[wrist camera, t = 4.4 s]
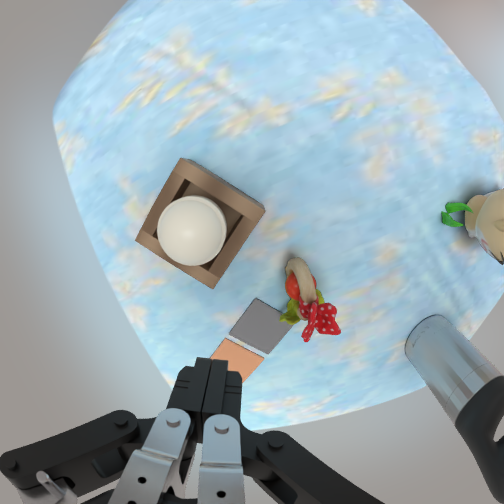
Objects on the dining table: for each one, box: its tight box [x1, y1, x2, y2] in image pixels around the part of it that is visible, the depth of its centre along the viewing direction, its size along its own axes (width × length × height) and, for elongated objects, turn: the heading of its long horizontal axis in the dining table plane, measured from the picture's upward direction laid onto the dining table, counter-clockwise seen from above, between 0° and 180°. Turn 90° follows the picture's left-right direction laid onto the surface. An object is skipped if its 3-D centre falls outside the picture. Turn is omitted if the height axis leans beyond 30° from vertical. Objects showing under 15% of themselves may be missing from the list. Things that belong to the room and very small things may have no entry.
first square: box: [229, 298, 294, 354], centre depth 37 cm, size 6×6×1 cm
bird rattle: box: [279, 257, 341, 342], centre depth 31 cm, size 6×11×9 cm
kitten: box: [441, 188, 504, 265], centre depth 25 cm, size 15×10×15 cm
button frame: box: [135, 158, 265, 289], centre depth 30 cm, size 10×10×5 cm
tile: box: [209, 338, 264, 383], centre depth 39 cm, size 6×6×1 cm
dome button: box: [157, 195, 227, 266], centre depth 26 cm, size 6×6×7 cm
